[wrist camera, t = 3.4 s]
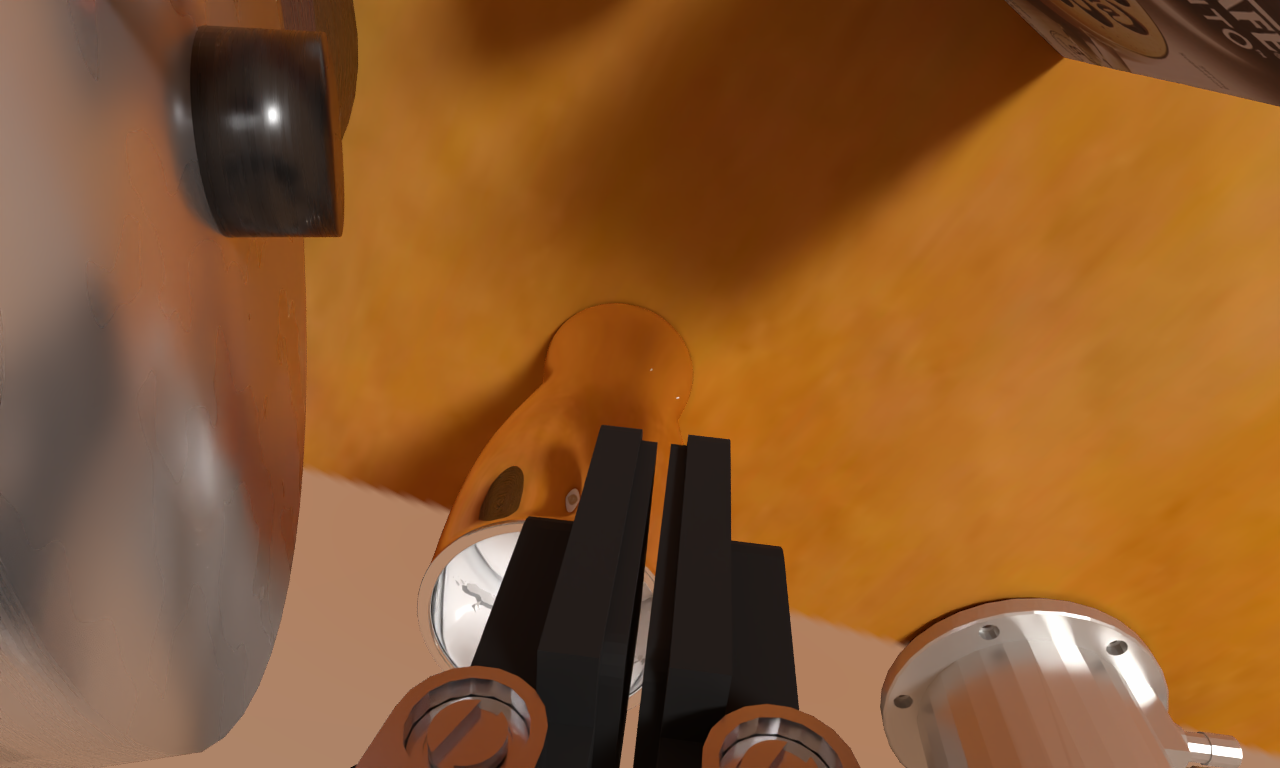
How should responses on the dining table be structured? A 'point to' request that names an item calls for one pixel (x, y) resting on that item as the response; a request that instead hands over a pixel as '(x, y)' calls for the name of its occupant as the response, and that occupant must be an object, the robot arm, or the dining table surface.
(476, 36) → the dining table surface
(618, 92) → the dining table surface
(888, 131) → the dining table surface
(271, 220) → the lid
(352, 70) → the cooker pot
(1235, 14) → the coffee box
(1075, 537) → the dining table surface
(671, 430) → the beer glass
